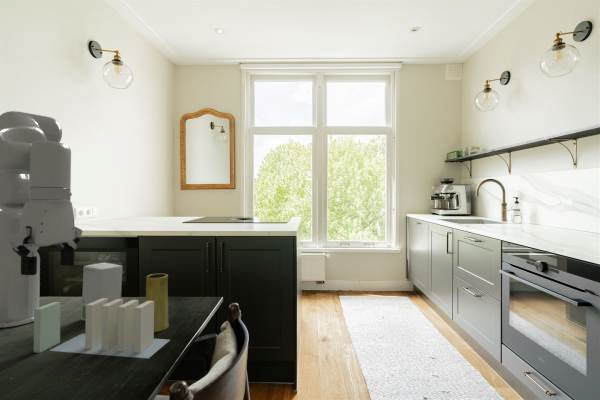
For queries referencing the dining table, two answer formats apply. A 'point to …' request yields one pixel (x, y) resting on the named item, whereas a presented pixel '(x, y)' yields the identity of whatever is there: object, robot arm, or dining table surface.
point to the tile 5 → (143, 326)
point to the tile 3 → (110, 324)
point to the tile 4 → (126, 325)
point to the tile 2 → (94, 323)
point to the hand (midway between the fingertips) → (49, 269)
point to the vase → (158, 299)
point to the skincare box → (101, 284)
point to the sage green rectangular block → (46, 326)
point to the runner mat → (79, 347)
